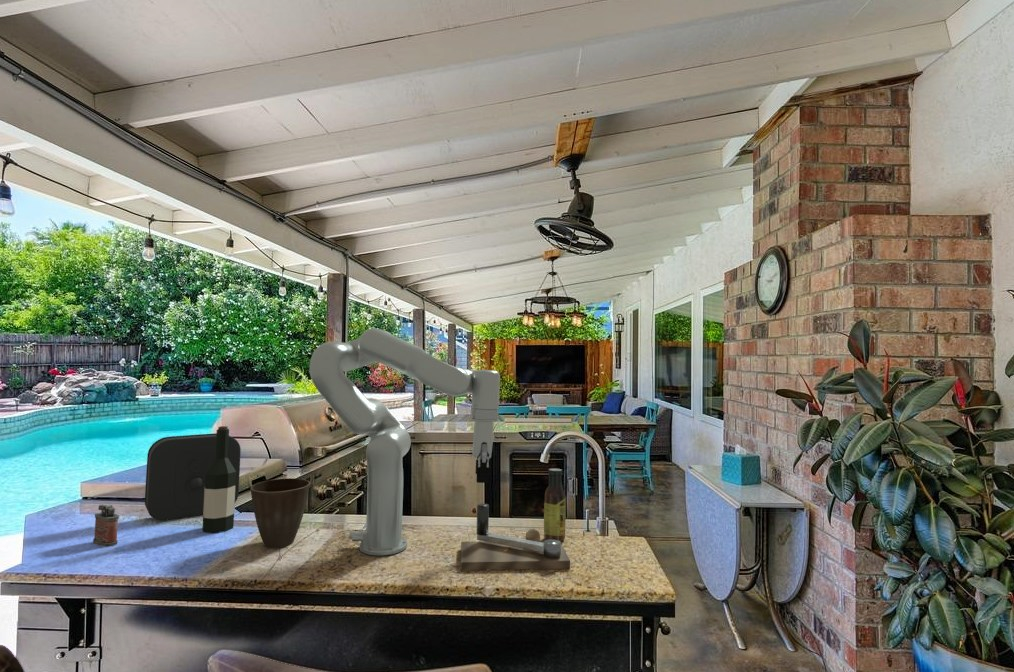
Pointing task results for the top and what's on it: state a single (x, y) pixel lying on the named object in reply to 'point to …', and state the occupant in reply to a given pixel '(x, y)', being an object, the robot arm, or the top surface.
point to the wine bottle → (219, 488)
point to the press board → (508, 556)
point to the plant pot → (279, 509)
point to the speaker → (182, 474)
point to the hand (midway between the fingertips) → (481, 478)
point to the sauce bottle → (554, 507)
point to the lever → (548, 547)
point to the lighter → (106, 526)
